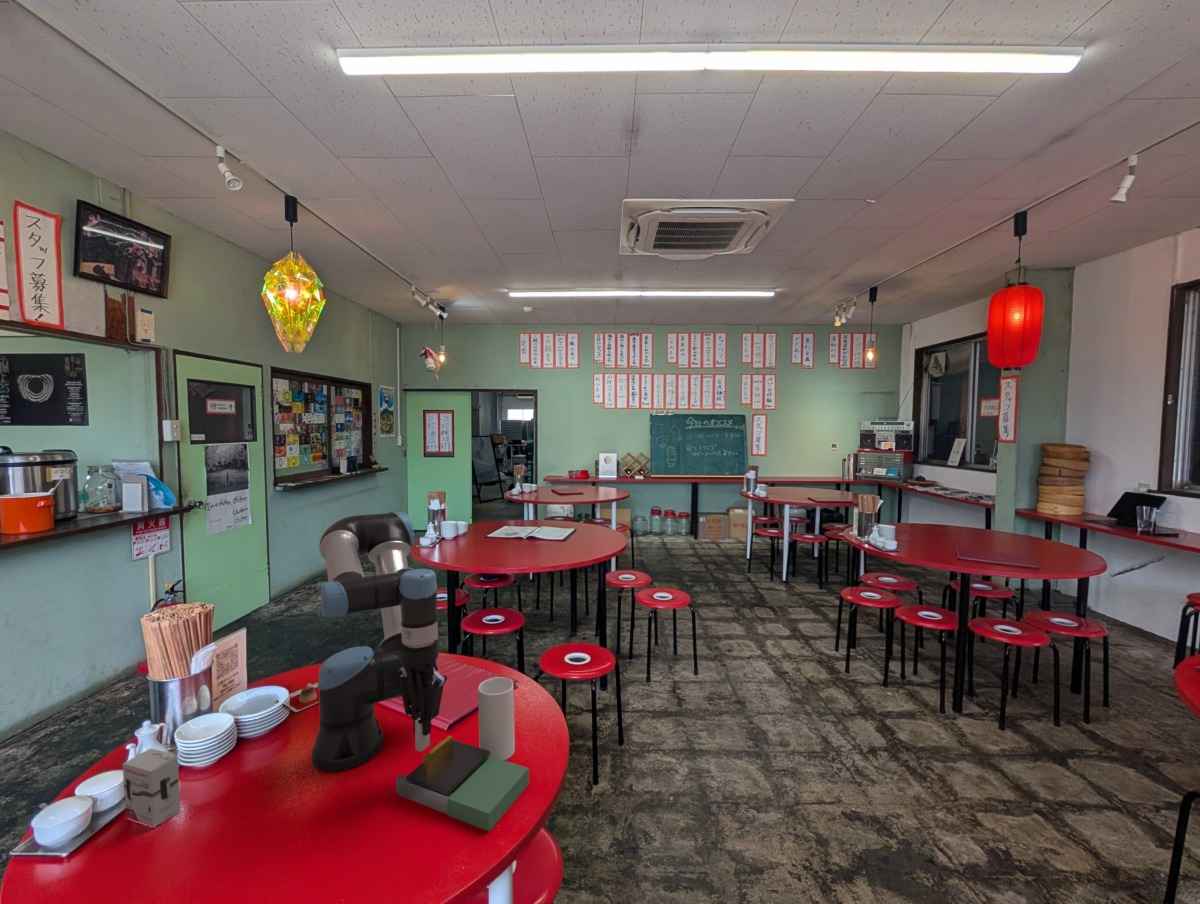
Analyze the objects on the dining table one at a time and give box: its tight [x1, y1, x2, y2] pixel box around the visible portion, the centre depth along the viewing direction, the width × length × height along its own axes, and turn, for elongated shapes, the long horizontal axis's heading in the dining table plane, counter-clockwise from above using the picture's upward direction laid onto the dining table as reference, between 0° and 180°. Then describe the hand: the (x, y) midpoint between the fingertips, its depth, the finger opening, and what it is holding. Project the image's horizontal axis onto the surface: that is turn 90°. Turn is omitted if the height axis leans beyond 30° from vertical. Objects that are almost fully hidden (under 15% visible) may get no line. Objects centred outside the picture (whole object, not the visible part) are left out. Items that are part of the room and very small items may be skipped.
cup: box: [477, 676, 516, 761], centre depth 118 cm, size 8×8×16 cm
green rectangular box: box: [447, 757, 530, 832], centre depth 102 cm, size 10×14×4 cm
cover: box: [405, 735, 490, 795], centre depth 106 cm, size 11×14×4 cm
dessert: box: [289, 682, 319, 713], centre depth 143 cm, size 12×12×5 cm
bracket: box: [395, 741, 490, 815], centre depth 107 cm, size 14×13×4 cm
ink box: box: [122, 748, 181, 827], centre depth 99 cm, size 8×5×12 cm, turn 73°
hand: (422, 747), depth 109 cm, fingers closed
